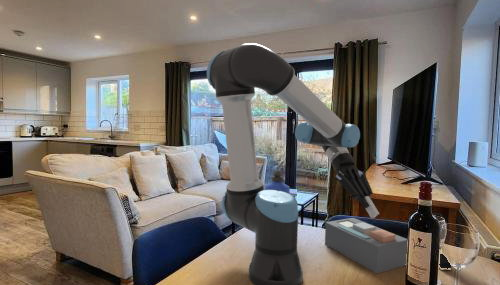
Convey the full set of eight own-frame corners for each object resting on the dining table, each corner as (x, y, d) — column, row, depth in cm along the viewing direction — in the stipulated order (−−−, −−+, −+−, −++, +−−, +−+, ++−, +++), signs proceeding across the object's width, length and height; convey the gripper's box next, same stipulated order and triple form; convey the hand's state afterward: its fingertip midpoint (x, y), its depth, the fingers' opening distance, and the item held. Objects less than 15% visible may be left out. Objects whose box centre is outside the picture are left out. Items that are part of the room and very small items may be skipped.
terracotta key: (394, 245, 91) (395, 234, 91) (383, 247, 89) (383, 237, 89) (381, 239, 96) (381, 229, 96) (370, 241, 94) (370, 231, 93)
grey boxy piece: (407, 265, 92) (408, 238, 91) (376, 273, 86) (377, 245, 86) (352, 238, 113) (353, 216, 112) (324, 244, 107) (325, 221, 107)
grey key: (375, 236, 98) (375, 226, 98) (363, 238, 96) (364, 229, 96) (363, 231, 102) (363, 222, 102) (352, 233, 100) (352, 224, 100)
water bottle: (292, 234, 117) (293, 170, 115) (281, 241, 109) (283, 173, 107) (271, 229, 121) (272, 168, 120) (259, 236, 114) (260, 171, 112)
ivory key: (357, 234, 105) (358, 225, 105) (346, 236, 103) (347, 227, 103) (347, 229, 109) (347, 221, 109) (336, 231, 107) (337, 222, 107)
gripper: (347, 163, 115) (382, 219, 101) (321, 165, 109) (353, 224, 95) (359, 151, 110) (396, 207, 96) (331, 152, 104) (367, 212, 90)
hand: (375, 215), depth 96 cm, fingers closed
